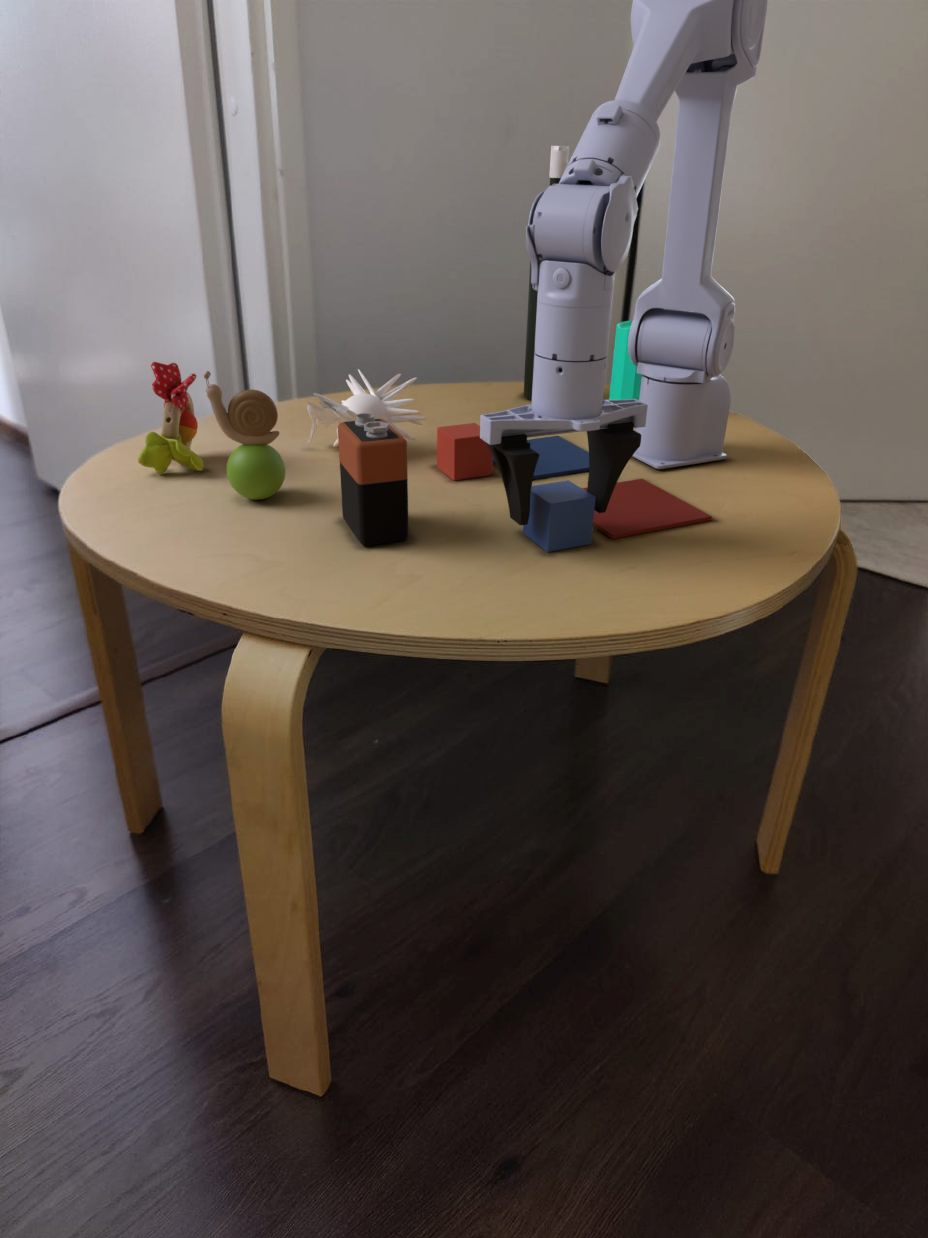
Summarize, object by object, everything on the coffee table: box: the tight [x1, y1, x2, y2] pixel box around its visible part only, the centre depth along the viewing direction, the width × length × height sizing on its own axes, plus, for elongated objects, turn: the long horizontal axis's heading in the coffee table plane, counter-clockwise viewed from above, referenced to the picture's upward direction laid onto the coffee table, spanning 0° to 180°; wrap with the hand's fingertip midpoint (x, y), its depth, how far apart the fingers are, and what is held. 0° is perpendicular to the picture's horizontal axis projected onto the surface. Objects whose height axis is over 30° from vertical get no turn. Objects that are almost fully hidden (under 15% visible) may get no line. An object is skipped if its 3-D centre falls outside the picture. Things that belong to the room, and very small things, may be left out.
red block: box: [436, 422, 493, 481], centre depth 90 cm, size 4×4×4 cm
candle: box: [608, 320, 642, 400], centre depth 111 cm, size 6×6×12 cm
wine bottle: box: [523, 145, 570, 401], centre depth 110 cm, size 6×6×30 cm
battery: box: [337, 413, 409, 547], centre depth 74 cm, size 4×7×10 cm, turn 21°
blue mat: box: [492, 435, 589, 480], centre depth 95 cm, size 11×11×1 cm
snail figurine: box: [203, 370, 286, 501], centre depth 80 cm, size 5×6×12 cm
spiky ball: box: [306, 368, 427, 448], centre depth 94 cm, size 11×12×8 cm
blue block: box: [522, 479, 596, 553], centre depth 75 cm, size 4×4×4 cm
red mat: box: [581, 478, 713, 540], centre depth 82 cm, size 11×11×1 cm
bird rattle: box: [137, 361, 205, 475], centre depth 89 cm, size 6×11×9 cm
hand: (558, 514), depth 75 cm, fingers open, 7 cm apart
